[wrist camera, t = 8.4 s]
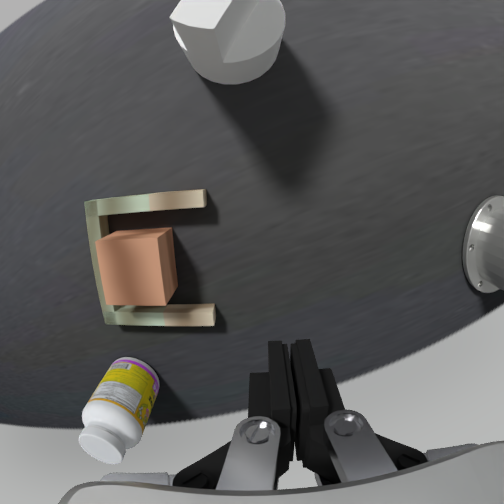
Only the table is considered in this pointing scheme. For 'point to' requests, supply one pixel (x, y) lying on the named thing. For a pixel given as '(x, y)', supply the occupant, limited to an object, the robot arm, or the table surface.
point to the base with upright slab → (229, 37)
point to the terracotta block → (138, 267)
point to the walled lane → (100, 228)
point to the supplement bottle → (119, 410)
